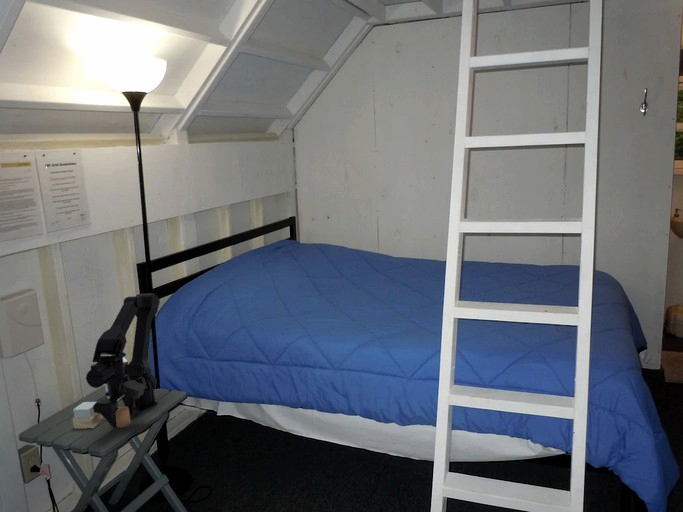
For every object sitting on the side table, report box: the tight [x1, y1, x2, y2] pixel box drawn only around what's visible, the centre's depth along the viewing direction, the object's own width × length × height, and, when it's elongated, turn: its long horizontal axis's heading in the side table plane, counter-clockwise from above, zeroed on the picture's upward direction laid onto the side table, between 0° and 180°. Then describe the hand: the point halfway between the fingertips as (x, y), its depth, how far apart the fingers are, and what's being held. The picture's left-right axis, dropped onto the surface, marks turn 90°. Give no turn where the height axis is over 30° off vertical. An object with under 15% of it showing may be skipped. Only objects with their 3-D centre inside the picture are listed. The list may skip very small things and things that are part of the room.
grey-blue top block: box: [72, 401, 97, 418], centre depth 177 cm, size 6×6×3 cm
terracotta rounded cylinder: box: [116, 405, 132, 428], centre depth 175 cm, size 4×4×5 cm
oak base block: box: [72, 413, 105, 429], centre depth 178 cm, size 6×6×4 cm
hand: (122, 420), depth 175 cm, fingers open, 9 cm apart
